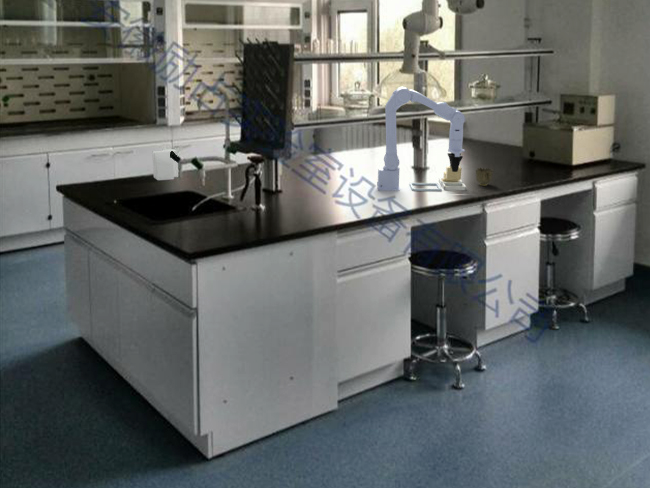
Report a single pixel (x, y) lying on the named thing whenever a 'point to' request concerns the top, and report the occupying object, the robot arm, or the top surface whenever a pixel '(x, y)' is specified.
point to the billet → (453, 173)
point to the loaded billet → (448, 179)
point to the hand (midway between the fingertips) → (454, 170)
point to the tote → (425, 189)
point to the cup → (484, 175)
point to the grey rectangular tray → (452, 185)
